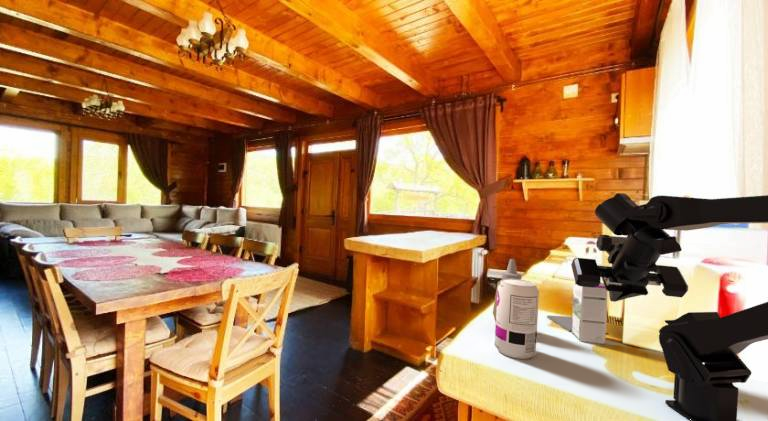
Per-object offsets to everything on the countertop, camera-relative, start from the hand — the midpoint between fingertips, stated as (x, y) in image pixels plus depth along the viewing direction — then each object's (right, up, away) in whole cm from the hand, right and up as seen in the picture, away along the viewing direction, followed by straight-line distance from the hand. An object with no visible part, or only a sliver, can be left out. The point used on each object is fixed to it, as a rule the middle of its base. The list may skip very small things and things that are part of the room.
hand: (612, 299), depth 71 cm
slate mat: (+3, -12, +18) cm, 22 cm away
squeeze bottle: (-18, -11, +12) cm, 24 cm away
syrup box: (0, -12, +8) cm, 15 cm away
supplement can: (-22, -11, -2) cm, 25 cm away
